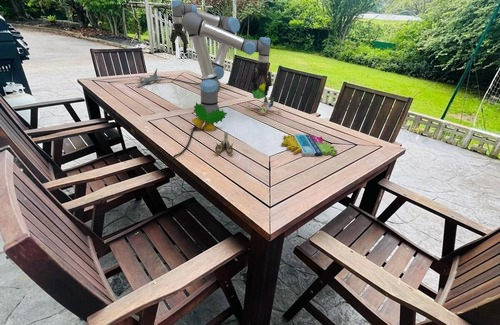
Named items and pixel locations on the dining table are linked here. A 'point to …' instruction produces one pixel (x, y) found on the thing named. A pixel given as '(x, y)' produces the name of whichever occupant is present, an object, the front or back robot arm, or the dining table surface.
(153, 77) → the airplane
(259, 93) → the green box with toys
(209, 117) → the ornament
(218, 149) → the jawbone
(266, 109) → the toy
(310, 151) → the colourful gloves pack
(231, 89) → the dining table surface
